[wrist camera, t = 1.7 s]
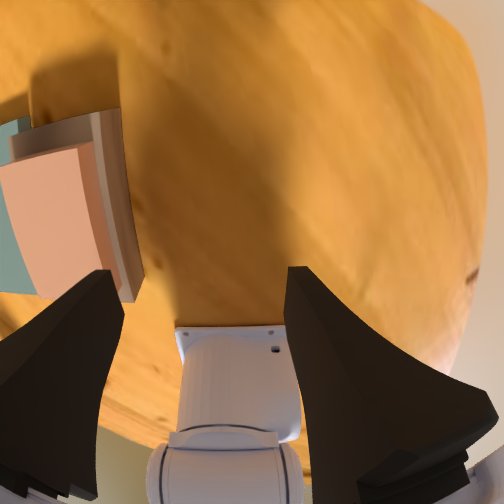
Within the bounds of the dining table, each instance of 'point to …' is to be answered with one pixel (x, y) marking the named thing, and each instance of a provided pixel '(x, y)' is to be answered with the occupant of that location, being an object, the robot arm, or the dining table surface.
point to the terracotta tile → (58, 217)
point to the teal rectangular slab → (3, 238)
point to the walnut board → (110, 180)
